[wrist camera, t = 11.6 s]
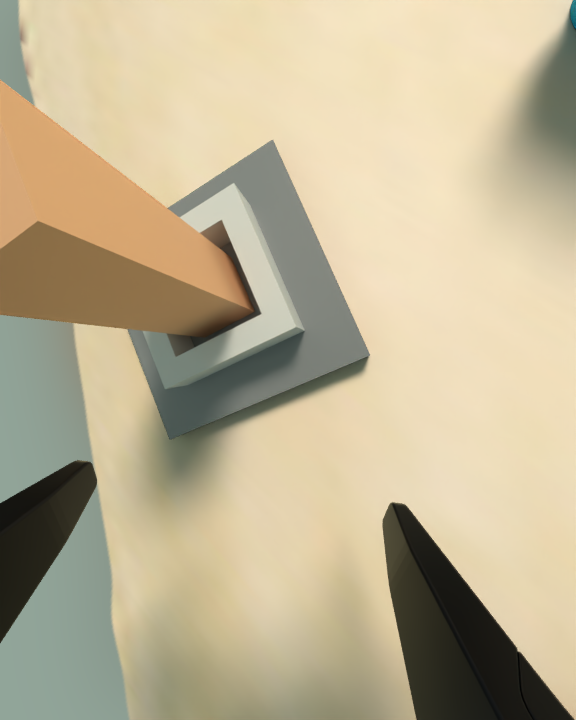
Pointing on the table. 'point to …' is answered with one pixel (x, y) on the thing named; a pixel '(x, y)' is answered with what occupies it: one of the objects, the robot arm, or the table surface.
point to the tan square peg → (99, 240)
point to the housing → (253, 303)
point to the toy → (573, 13)
